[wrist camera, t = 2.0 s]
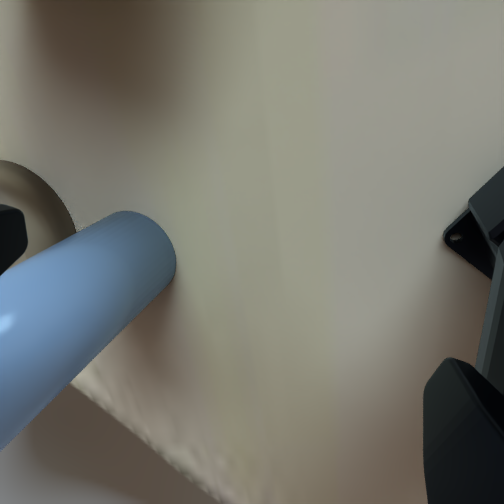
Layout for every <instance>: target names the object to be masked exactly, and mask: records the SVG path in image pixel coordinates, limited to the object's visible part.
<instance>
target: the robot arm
mask: <svg viewBox="0 0 504 504" xmlns="http://www.w3.org/2000/svg"><path fill="white" fill-rule="evenodd" d="M454 233H460V234H461V237H460V239H458V240H452V239H450V237H451V235H452V234H454ZM443 237H444V241H445V243H446V244H447V246H448V247H450V248H451V249H452V250H454V251H455V252H456V253H458V254H459V255H460V256H461V257H463V258H464V259H465V260H467V261H468V262H469V263H471V264H472V265H473V266H474V267H476V268H477V269H478V270H480V271H481V272H482V273H483V274H485V275H486V276H487V277H489V278H490V279H491V280H492V283H491V288H490V293H489V298H488V304H487V309H486V314H485V319H484V324H483V329H482V334H481V339H480V344H479V349H478V354H477V359H476V365H475V368H474V367H473V366H472V365H470V364H469V363H466V362H464V361H461V360H458V359H455V358H451V357H449V358H446V359H445V360H444V361H443V362H442V363H441V364H440V366H439V367H438V368H437V370H436V371H435V372H434V374H433V375H432V376H431V378H430V379H429V380H428V382H427V384H426V386H425V389H424V394H423V462H424V474H425V483H426V491H427V499H428V504H504V167H503V168H502V169H501V170H499V171H498V172H497V173H496V174H495V175H494V176H493V177H492V178H491V179H490V180H489V181H488V182H487V183H486V184H485V185H483V186H482V187H481V188H480V189H479V190H478V191H477V192H476V193H475V194H474V195H473V196H472V197H471V198H470V199H469V208H468V209H467V210H466V211H465V212H463V213H462V214H461V215H460V216H459V217H458V218H457V219H456V220H455V221H454V222H453V223H452V224H450V225H449V226H448V227H447V228H446V230H445V231H444V234H443ZM27 246H28V235H27V229H26V222H25V216H24V214H23V212H22V211H21V210H20V209H17V208H14V207H11V206H9V205H5V204H0V276H1V275H2V274H3V273H4V272H5V271H6V270H7V269H8V268H9V267H10V266H12V265H13V264H14V263H15V262H16V261H17V260H18V259H19V258H20V257H21V256H22V255H23V254H24V252H25V251H26V249H27Z"/></svg>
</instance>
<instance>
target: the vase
mask: <svg viewBox="0 0 504 504" xmlns="http://www.w3.org/2000/svg"><path fill="white" fill-rule="evenodd" d="M175 269H176V256H175V251H174V248H173V246H172V243H171V241H170V239H169V238H168V236H167V235H166V233H165V232H164V231H163V229H162V228H161V227H160V226H159V225H158V224H156V223H155V222H154V221H153V220H151V219H150V218H148V217H146V216H144V215H142V214H140V213H137V212H133V211H119V212H115V213H113V214H111V215H109V216H107V217H105V218H103V219H101V220H100V221H98V222H96V223H94V224H92V225H90V226H88V227H86V228H85V229H83V230H81V231H79V232H77V233H75V234H73V235H71V236H70V237H68V238H66V239H64V240H62V241H60V242H58V243H56V244H55V245H53V246H51V247H49V248H47V249H45V250H43V251H42V252H40V253H38V254H36V255H34V256H32V257H30V258H28V259H27V260H25V261H23V262H21V263H19V264H17V265H15V266H13V267H12V268H10V269H8V270H6V271H5V272H4V273H3V274H2V275H1V276H0V451H1V450H3V448H5V446H6V445H7V444H9V443H10V441H12V439H13V438H14V437H16V435H18V434H19V433H20V432H21V431H22V430H23V429H24V428H25V427H26V426H27V424H29V423H30V422H31V421H32V420H33V419H34V418H35V417H36V416H37V415H38V414H39V413H40V412H41V411H42V410H43V408H45V407H46V406H47V405H48V404H49V403H50V402H51V401H52V400H53V399H54V397H56V396H57V395H58V394H59V393H60V392H61V391H62V390H63V389H64V388H65V387H66V385H68V384H69V383H70V382H71V381H72V380H73V379H74V378H75V377H76V376H77V375H78V374H79V373H80V372H81V371H82V370H83V369H84V368H85V367H86V366H87V365H88V364H89V363H90V362H91V361H92V360H93V359H94V358H95V357H96V356H97V355H98V354H99V353H100V352H101V351H102V350H103V349H104V348H105V347H106V346H107V345H108V344H109V343H110V342H111V341H112V340H113V339H114V338H115V337H116V336H117V335H118V334H119V333H120V332H121V331H122V330H123V329H124V328H125V327H126V326H127V325H128V324H129V323H130V322H131V321H132V320H133V319H134V318H135V317H136V316H137V315H138V314H139V313H140V312H141V311H142V310H143V309H144V308H145V307H146V306H147V305H148V304H149V303H150V302H151V301H152V300H153V299H154V298H155V297H156V296H157V295H158V294H159V293H160V292H161V291H162V290H163V289H164V288H165V287H166V286H167V285H168V284H169V283H170V281H171V280H172V278H173V276H174V273H175Z"/></svg>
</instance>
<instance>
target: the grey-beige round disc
mask: <svg viewBox="0 0 504 504" xmlns="http://www.w3.org/2000/svg"><path fill="white" fill-rule="evenodd" d="M0 204H5V205H9V206H11V207H14V208H17V209H20V210H21V211H22V212H23V214H24V216H25V222H26V229H27V235H28V246H27V249H26V251H25V252H24V254H23V255H22V256H21V257H20V258H19V259H18V260H17V261H16V262H15V263H14V264H13V265H12V266H10V267H9V268H8V269H10V268H12V267H13V266H15V265H17V264H19V263H21V262H23V261H25V260H27V259H28V258H30V257H32V256H34V255H36V254H38V253H40V252H42V251H43V250H45V249H47V248H49V247H51V246H53V245H55V244H56V243H58V242H60V241H62V240H64V239H66V238H68V237H70V236H71V235H73V234H75V233H76V231H75V227H74V224H73V222H72V219H71V217H70V215H69V213H68V211H67V209H66V207H65V206H64V204H63V203H62V201H61V200H60V198H59V197H58V196H57V194H56V193H55V192H54V191H53V189H52V188H51V187H50V186H49V185H48V184H47V183H46V182H45V181H43V180H42V179H41V178H40V177H39V176H38V175H36V174H35V173H33V172H32V171H30V170H28V169H27V168H25V167H23V166H21V165H18V164H16V163H13V162H9V161H4V160H0ZM8 269H7V270H8Z"/></svg>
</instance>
